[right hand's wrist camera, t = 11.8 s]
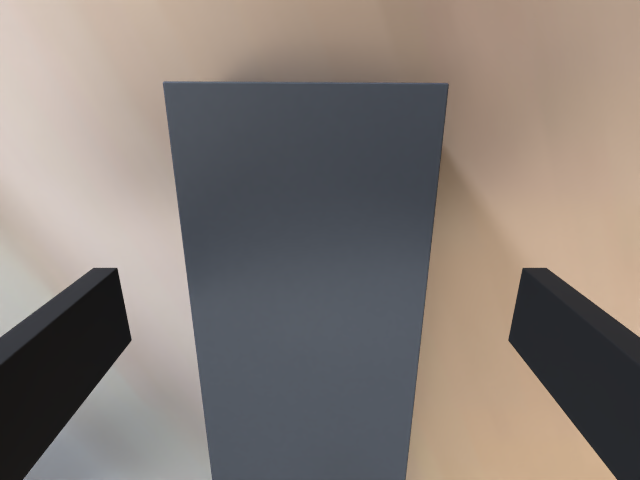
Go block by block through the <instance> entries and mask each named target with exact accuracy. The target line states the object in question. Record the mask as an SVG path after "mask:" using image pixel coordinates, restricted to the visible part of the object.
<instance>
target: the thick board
mask: <svg viewBox="0 0 640 480" xmlns="http://www.w3.org/2000/svg"><path fill="white" fill-rule="evenodd" d="M448 86H449V84H448V83H342V82H169V81H165V82H163V87H164V95H165V103H166V111H167V119H168V127H169V135H170V143H171V152H172V160H173V168H174V176H175V184H176V192H177V200H178V208H179V216H180V224H181V232H182V240H183V248H184V256H185V264H186V272H187V280H188V288H189V296H190V304H191V312H192V320H193V328H194V336H195V344H196V352H197V360H198V368H199V376H200V384H201V392H202V400H203V408H204V416H205V424H206V432H207V440H208V448H209V456H210V464H211V472H212V480H405V479H406V470H407V461H408V452H409V443H410V433H411V424H412V415H413V406H414V397H415V388H416V379H417V370H418V360H419V351H420V342H421V333H422V324H423V315H424V306H425V296H426V287H427V278H428V269H429V260H430V251H431V242H432V233H433V223H434V214H435V205H436V196H437V187H438V178H439V169H440V159H441V150H442V141H443V132H444V123H445V114H446V105H447V96H448Z"/></svg>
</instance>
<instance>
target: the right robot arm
mask: <svg viewBox="0 0 640 480" xmlns="http://www.w3.org/2000/svg"><path fill="white" fill-rule="evenodd" d="M130 342H131V335H130V330H129V325H128V320H127V314H126V309H125V304H124V299H123V294H122V289H121V284H120V279H119V274H118V269H117V268H93V269H92V270H90V271H89V272H88V273H86V274H85V275H84V276H82V277H81V278H79V279H78V280H77V281H75V282H74V283H73V284H71V285H70V286H69V287H67V288H66V289H65V290H63V291H62V292H61V293H59V294H58V295H57V296H55V297H54V298H53V299H51V300H50V301H49V302H47V303H46V304H45V305H43V306H42V307H41V308H39V309H38V310H37V311H35V312H34V313H32V314H31V315H30V316H28V317H27V318H26V319H24V320H23V321H22V322H20V323H19V324H18V325H16V326H15V327H14V328H12V329H11V330H10V331H8V332H7V333H6V334H4V335H3V336H2V337H0V480H23V479H24V477H25V476H26V475H27V474H28V472H29V471H30V470H31V468H32V467H33V466H34V465H35V463H36V462H37V461H38V459H39V458H40V457H41V456H42V454H43V453H44V452H45V450H46V449H47V448H48V447H49V445H50V444H51V443H52V442H53V440H54V439H55V438H56V436H57V435H58V434H59V433H60V431H61V430H62V429H63V427H64V426H65V425H66V424H67V422H68V421H69V420H70V419H71V417H72V416H73V415H74V413H75V412H76V411H77V410H78V408H79V407H80V406H81V404H82V403H83V402H84V401H85V399H86V398H87V397H88V395H89V394H90V393H91V392H92V390H93V389H94V388H95V387H96V385H97V384H98V383H99V381H100V380H101V379H102V378H103V376H104V375H105V374H106V372H107V371H108V370H109V369H110V367H111V366H112V365H113V364H114V362H115V361H116V360H117V358H118V357H119V356H120V355H121V353H122V352H123V351H124V349H125V348H126V347H127V346H128V344H129V343H130ZM509 342H510V343H511V344H512V346H513V347H514V348H515V349H516V351H517V352H518V353H519V355H520V356H521V357H522V358H523V360H524V361H525V362H526V364H527V365H528V366H529V367H530V369H531V370H532V371H533V372H534V374H535V375H536V376H537V378H538V379H539V380H540V381H541V383H542V384H543V385H544V387H545V388H546V389H547V390H548V392H549V393H550V394H551V395H552V397H553V398H554V399H555V401H556V402H557V403H558V404H559V406H560V407H561V408H562V410H563V411H564V412H565V413H566V415H567V416H568V417H569V419H570V420H571V421H572V422H573V424H574V425H575V426H576V427H577V429H578V430H579V431H580V433H581V434H582V435H583V436H584V438H585V439H586V440H587V442H588V443H589V444H590V445H591V447H592V448H593V449H594V450H595V452H596V453H597V454H598V456H599V457H600V458H601V459H602V461H603V462H604V463H605V465H606V466H607V467H608V468H609V470H610V471H611V472H612V474H613V475H614V476H615V477H616V479H617V480H640V337H638V336H637V335H636V334H634V333H633V332H632V331H630V330H629V329H628V328H626V327H625V326H624V325H622V324H621V323H620V322H618V321H617V320H616V319H614V318H613V317H612V316H610V315H609V314H608V313H606V312H605V311H603V310H602V309H601V308H599V307H598V306H597V305H595V304H594V303H593V302H591V301H590V300H589V299H587V298H586V297H585V296H583V295H582V294H581V293H579V292H578V291H577V290H575V289H574V288H573V287H571V286H570V285H569V284H567V283H566V282H565V281H563V280H562V279H561V278H559V277H558V276H556V275H555V274H554V273H552V272H551V271H550V270H548V269H547V268H523V269H522V274H521V279H520V284H519V289H518V294H517V299H516V304H515V309H514V314H513V320H512V325H511V330H510V335H509Z"/></svg>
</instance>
